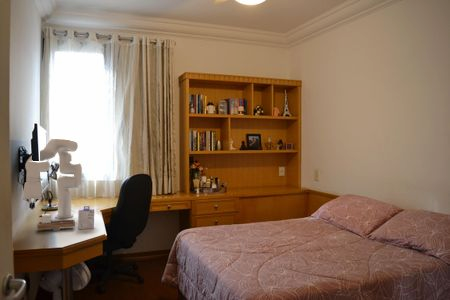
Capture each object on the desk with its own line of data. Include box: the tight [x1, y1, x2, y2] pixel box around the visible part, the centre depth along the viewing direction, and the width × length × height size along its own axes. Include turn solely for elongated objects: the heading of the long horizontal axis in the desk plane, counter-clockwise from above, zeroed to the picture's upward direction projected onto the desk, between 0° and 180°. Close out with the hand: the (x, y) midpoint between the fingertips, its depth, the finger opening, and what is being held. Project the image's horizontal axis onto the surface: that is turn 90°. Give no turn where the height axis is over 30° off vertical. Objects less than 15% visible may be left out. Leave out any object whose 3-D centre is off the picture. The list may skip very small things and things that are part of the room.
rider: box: [41, 213, 52, 224], centre depth 220 cm, size 4×5×6 cm
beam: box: [36, 219, 76, 232], centre depth 223 cm, size 9×22×5 cm, turn 117°
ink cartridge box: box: [77, 205, 95, 230], centre depth 229 cm, size 10×6×14 cm, turn 109°
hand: (32, 209), depth 216 cm, fingers closed
